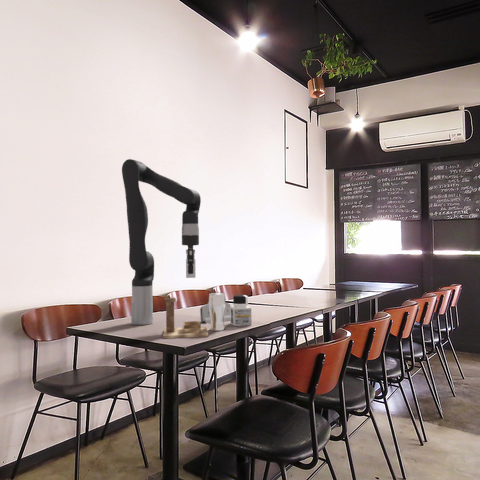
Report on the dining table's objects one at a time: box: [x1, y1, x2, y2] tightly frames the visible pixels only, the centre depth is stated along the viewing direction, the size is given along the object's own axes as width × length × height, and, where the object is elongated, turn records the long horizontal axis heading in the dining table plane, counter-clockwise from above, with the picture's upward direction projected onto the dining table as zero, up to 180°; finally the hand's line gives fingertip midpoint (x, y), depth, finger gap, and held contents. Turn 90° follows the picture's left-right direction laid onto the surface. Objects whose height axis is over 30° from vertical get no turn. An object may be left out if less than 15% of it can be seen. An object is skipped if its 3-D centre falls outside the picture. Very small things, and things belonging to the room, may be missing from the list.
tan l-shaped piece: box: [162, 297, 209, 339], centre depth 165 cm, size 17×16×14 cm
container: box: [230, 294, 252, 327], centre depth 184 cm, size 8×8×13 cm
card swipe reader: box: [199, 302, 232, 324], centre depth 195 cm, size 17×5×10 cm, turn 124°
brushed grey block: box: [185, 258, 196, 279], centre depth 182 cm, size 4×4×8 cm
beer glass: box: [208, 292, 227, 332], centre depth 172 cm, size 7×7×15 cm
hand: (190, 273), depth 182 cm, fingers closed on brushed grey block, 4 cm apart
